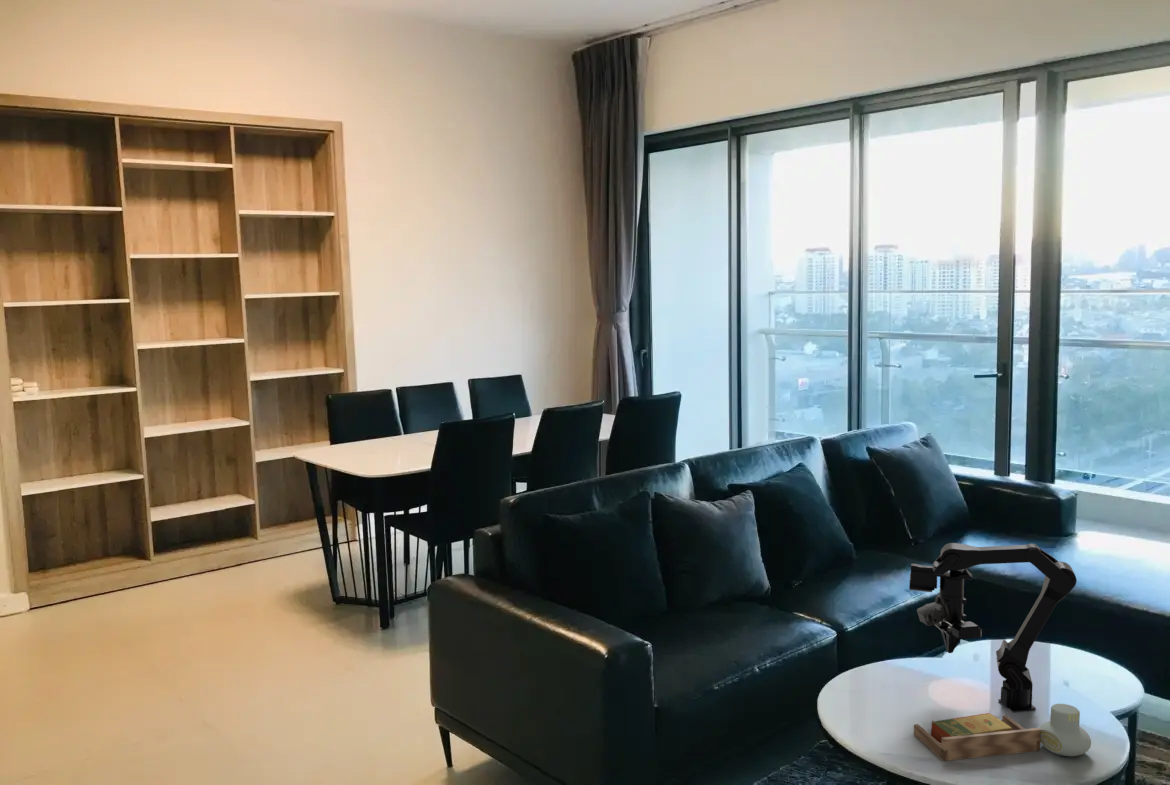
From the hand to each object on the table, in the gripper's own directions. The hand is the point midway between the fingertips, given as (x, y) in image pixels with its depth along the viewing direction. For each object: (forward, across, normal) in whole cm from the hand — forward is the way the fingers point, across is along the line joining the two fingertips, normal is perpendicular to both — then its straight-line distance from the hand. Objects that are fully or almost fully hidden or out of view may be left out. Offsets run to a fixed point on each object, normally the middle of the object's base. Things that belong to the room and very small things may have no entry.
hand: (949, 652), depth 245 cm
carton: (+13, +22, -7) cm, 26 cm away
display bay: (+12, +24, -7) cm, 27 cm away
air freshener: (+12, +31, +10) cm, 35 cm away
